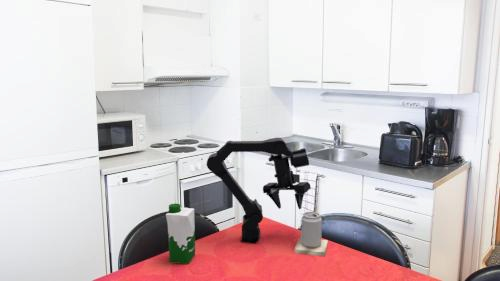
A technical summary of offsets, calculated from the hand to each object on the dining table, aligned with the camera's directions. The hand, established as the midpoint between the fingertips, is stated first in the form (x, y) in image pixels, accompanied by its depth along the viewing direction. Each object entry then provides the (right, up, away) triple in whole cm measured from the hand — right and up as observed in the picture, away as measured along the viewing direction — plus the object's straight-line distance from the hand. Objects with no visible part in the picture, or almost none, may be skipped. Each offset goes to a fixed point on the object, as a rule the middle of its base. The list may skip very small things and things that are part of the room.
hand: (289, 208), depth 157 cm
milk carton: (-40, -16, -13) cm, 45 cm away
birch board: (+8, -14, -5) cm, 17 cm away
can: (+8, -13, -6) cm, 16 cm away
